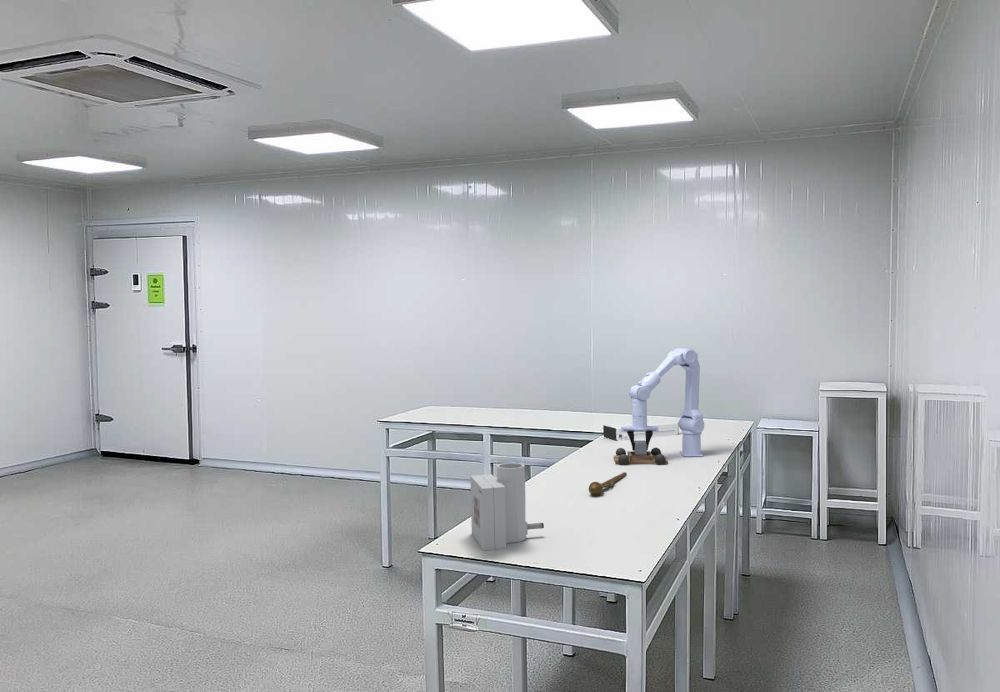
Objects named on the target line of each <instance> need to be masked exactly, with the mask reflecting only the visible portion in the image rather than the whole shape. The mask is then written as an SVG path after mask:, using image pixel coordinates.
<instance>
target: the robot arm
mask: <svg viewBox="0 0 1000 692" xmlns="http://www.w3.org/2000/svg"><path fill="white" fill-rule="evenodd" d="M698 356H699V354H698V352H697V351H695V350H694V349H693V348H686V347H674V348H672V349H671V351H669V352H668V353H667V356H666V357H665V359H663V361H662V362H661V363H660V365H659V366H658V367H657V368H656V369H655V370H654V371H649V372H646V373H645V376H644V377H643V378H642V379H641V380H640V381H638V382H637V384H635V385H633V386H631V388H630V390H629V392H628V395H629V398H630V399H631V406H632V407H631V408H632V409H631V415H632V416H631V418H632V419H631V420H632V422H631V423H632V426H627V427H621V432H627V434H628V436H629V438H630V440H629V441H630V443H631V444H630V445H631V449H632V451H634V450H635V447H634V441H635V439H634V432H645V436H646V438H645V441H646V443H647V451H649V445H650V443H651V440H652V438H651V437H652V435H653V432H659V427H658V426H647V421H648V399H649V398H650V395H651V393H652V391H653V390H654V389H655V388H656V387H657V386H658V385H659V384H660V383H661V378H663V376H664V375H665V374H666V373H668V372H669V371H670V370H671V369H672V368H673V367H675V366H680V367H681V368H682V369H683V370H685V385H684V387H685V389H684V409H683V410H682V412H681V413H680V417H679V420H678V423H679V429H680V430H681V433H682V437H681V444H682V445H681V448H682V450H680V451H679V453H680V454H681V456H682V457H703V456H704V454H702V452H701V450H702V449H701V448H702V447H701V446H702V444H701V443H702V442H701V441H702V440H701V437H702V436H701V435H702V432H703V431H704V430H705V422H704V416H703V414H702V413H701V412H700V411H701V410H700V409H699V406H700V405H699V403H700V402H699V401H700V378H701V377H700V373H701V367H700V366H701V365H700V362H699V359H698Z"/></svg>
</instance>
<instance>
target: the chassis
mask: <svg viewBox="0 0 1000 692" xmlns="http://www.w3.org/2000/svg"><path fill="white" fill-rule="evenodd" d="M613 461H614V463H615V465H622V466H626V465H658V466H662V465H668V464H669V462H668V459H667V457H666V456H665V455H664V454H662V451H661V449H660V448H658V447H652V448H651V449H650V451H649V450H647V456H634V451H633V450H632V451H626V449H624V448H623V447H618V448H617V449H616V450H615V455H613Z"/></svg>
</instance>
